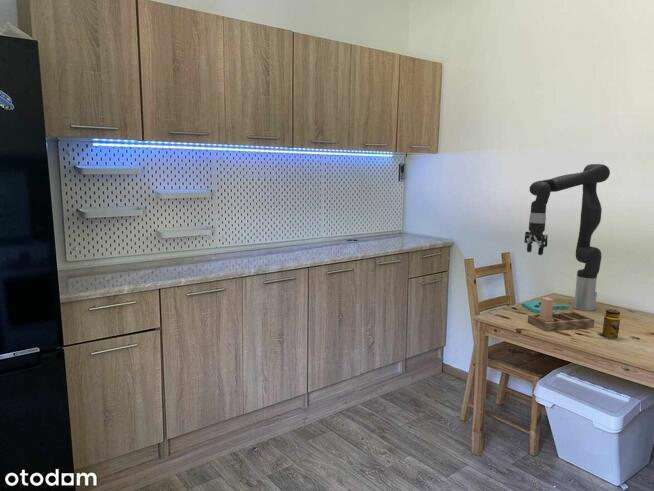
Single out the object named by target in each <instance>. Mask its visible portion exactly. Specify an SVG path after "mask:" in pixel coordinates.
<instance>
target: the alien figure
mask: <svg viewBox="0 0 654 491" xmlns="http://www.w3.org/2000/svg"><path fill="white" fill-rule="evenodd" d="M521 307H522V308H524V309H525V308H526V310H527V311H529V310H530V313H533V312H534V313H533V314H540V308H541V300H536V301H534V300H531V301H527V300H525V301H523V302H522V303H521ZM569 307H570V305H568V304H563V305H562V304H558V305H557V304H553V313H559V312H557V310H569Z"/></svg>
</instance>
